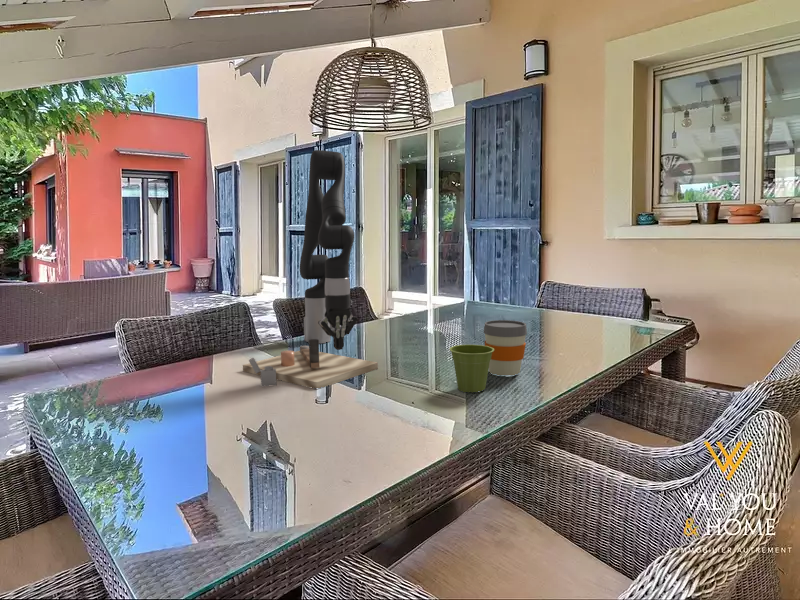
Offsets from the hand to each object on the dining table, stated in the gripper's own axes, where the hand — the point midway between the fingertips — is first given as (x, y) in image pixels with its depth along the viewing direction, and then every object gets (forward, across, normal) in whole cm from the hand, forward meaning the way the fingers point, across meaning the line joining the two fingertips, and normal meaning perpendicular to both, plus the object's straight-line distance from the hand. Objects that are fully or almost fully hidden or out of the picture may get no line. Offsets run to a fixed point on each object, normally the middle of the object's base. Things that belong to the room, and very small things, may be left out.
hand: (338, 349), depth 163 cm
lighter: (+7, +24, 0) cm, 25 cm away
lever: (+4, +5, -9) cm, 11 cm away
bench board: (+7, +6, -6) cm, 11 cm away
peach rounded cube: (+5, +12, -10) cm, 16 cm away
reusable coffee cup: (+7, -37, +33) cm, 50 cm away
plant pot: (+7, -18, +39) cm, 43 cm away
